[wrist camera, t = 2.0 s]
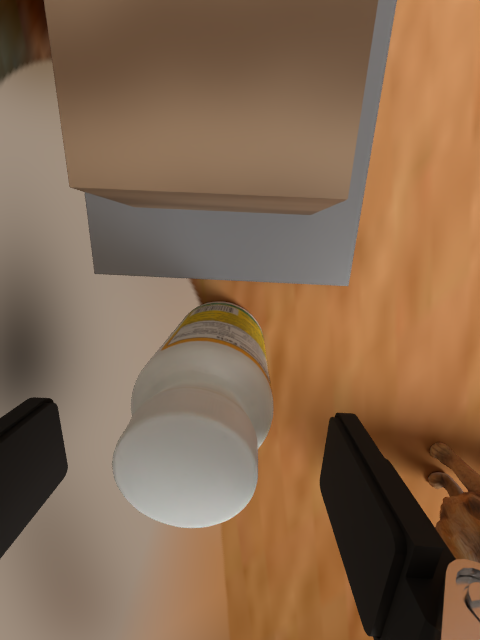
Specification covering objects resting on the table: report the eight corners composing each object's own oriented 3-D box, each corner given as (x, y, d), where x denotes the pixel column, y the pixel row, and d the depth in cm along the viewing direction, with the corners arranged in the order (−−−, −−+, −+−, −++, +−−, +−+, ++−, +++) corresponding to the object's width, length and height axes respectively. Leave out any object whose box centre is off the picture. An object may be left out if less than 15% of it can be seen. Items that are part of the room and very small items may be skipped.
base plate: (56, -132, 10) (41, -163, 9) (409, -122, 10) (422, -153, 9) (102, 272, 15) (94, 273, 14) (342, 283, 15) (348, 286, 14)
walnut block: (117, -32, 10) (7, -264, 6) (338, -24, 10) (417, -255, 6) (134, 207, 13) (69, 187, 8) (310, 215, 13) (347, 199, 8)
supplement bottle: (221, 281, 15) (180, 344, 6) (281, 343, 16) (328, 482, 7) (160, 339, 16) (45, 469, 7) (220, 394, 17) (189, 570, 8)
